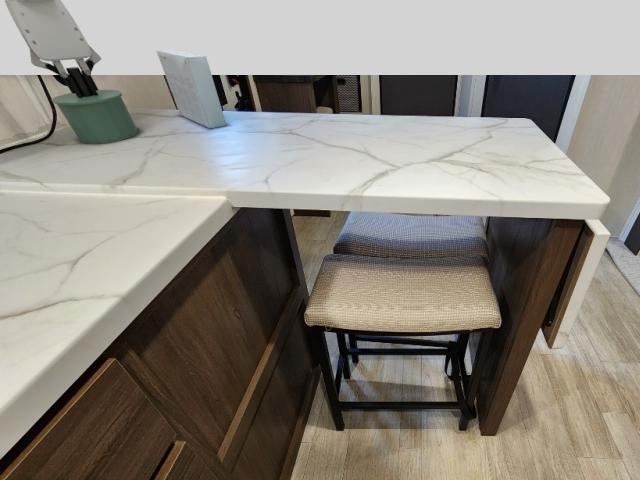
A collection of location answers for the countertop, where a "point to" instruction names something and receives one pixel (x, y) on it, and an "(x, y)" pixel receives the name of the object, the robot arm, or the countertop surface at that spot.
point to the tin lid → (84, 92)
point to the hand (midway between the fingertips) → (87, 94)
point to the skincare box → (192, 87)
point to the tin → (100, 121)
